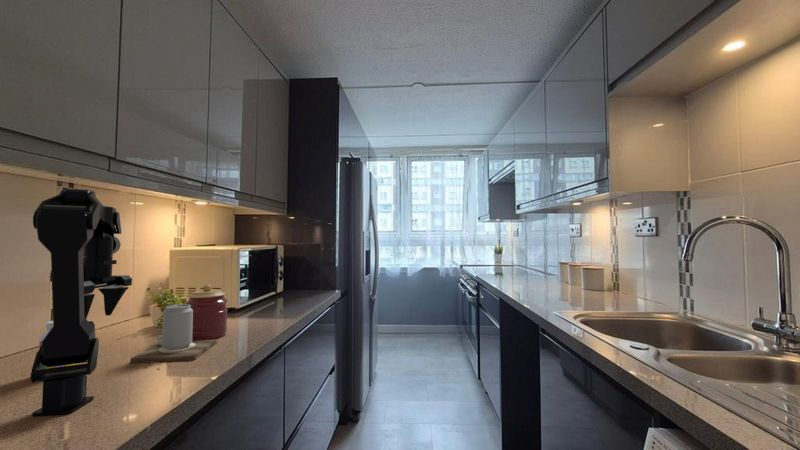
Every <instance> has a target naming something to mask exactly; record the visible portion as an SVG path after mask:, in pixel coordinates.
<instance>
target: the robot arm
mask: <svg viewBox="0 0 800 450" xmlns="http://www.w3.org/2000/svg"><path fill="white" fill-rule="evenodd" d="M32 224H33V227H34V229H35V230H36V232H37V239H38V242H40V243H41V245H42V246H43V247H44V248H45V249H46V250H47V251H48V252H49V253H50V262H51V263H50V264H51V268H50V269H51V270H50V275H49V278H50V279H49V282H51V292H52V293H51V294H52V295H51V296H52V298H51V299H52V321H53V328H52V329H51V330H50V332H49V333H48V334H47V336H46V337H45V338H44V340H43V341H42V345H41V346H40V349H39V348H38V351H36V354H35V357H34V360H33V364H32V367H31V372H30V381H31V384H33V383H34V384H35V383H38V382H42V395H41V401H42V402H41V407H40V408H39V409H37V410H35V411H33V412H32V413H31V416H34V417H35V416H47V415H49V416H51V415H64V414H65V415H66V414H71V413H73V412H75V411H76V410H78V409H80V408H81V407H83V406H84V405H86V404H88V403H89V402H91V401H92V400H95V399H94V398H95V396H92V395H91V396H87V383H88V382H87V381H88V380H87V379H88V375H92V373H93V372H94V371H95V370H96V369H97V364H98V358H99V357H98V356H99V346H100V342H99V341H100V340H99V338H98V337H96V324H95V323H94V321H92V320H91V321H90V320H89V321H88V320H87V319H88V318H87V317H88V315H89V312H90V310H91V307H92V304H93V302H94V298H95V295H96V294H95V293H93V292H94V291H95V289H97V290H98V291H99V292H100V293H101V294H102V295H103V307H104V313H105V316H111V315H112V314H113V312H114V310H115V309H116V307H117V305H118V304H119V302H120V300H121V299H122V297H123V295H124V294H125V293H126V291H127V290H129V288H130V287H129V286H133V277H131V276H130V275H128V274H125V275H120V274H119V275H118V274H117V275H113V265H117V259H113V258H114V257H113V256H114V254H116V253H117V252H118V251H119V250H120V249H121V244H122V243H121V241H120V240H119V238H118V237H116V236H115V235H122V227H121V225H122V224H121V215H120V212H119V211H117V209H116V208H115V207H114V206H108V205H104V204H103V203H102V202H101V200H99V199H98V198H97V195H96V192H95V191H94V190H91V189H84V188H83V189H82V188H81V189H80V188H66V189H61V191H60V192H59V193H58V194H57V195H55V196H52V197H49V198H47V199H45V200H42V201H41V202H40V203H39V205H38V207H36V209H35V211H34V213H33V216H32ZM69 364H76V365H71V366H64V367H56V368H49V369H46V366H47V367H54V366H62V365H69Z"/></svg>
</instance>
